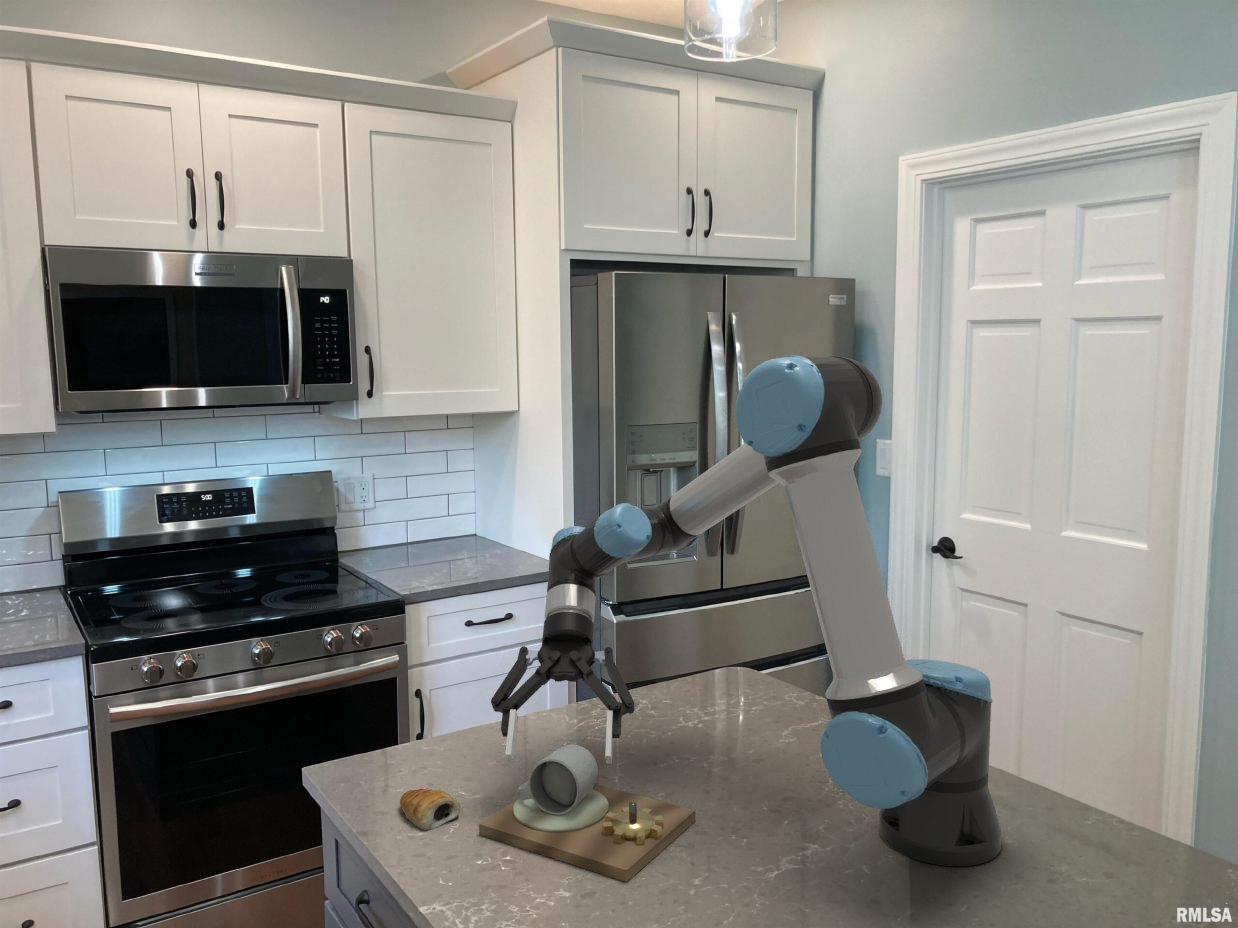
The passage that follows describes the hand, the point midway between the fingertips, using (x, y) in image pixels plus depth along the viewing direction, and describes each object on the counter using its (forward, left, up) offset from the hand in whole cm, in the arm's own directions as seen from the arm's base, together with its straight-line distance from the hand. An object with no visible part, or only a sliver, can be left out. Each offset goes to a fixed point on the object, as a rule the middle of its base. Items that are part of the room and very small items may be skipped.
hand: (558, 759), depth 130 cm
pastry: (+16, +8, -9) cm, 21 cm away
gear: (-12, 0, -7) cm, 14 cm away
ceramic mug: (+1, 0, -7) cm, 7 cm away
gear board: (-5, 0, -8) cm, 10 cm away
